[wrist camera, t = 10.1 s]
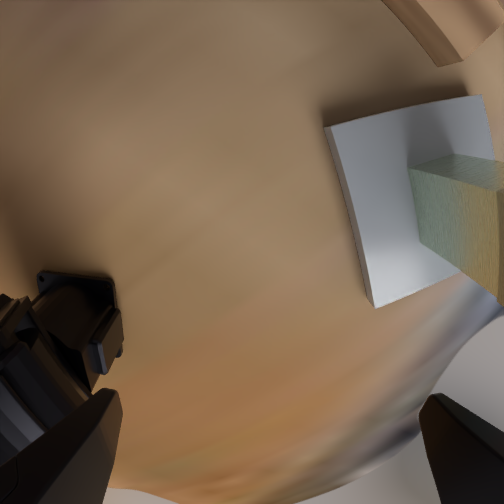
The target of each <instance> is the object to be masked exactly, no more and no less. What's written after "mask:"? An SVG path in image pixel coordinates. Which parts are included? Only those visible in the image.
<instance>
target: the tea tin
mask: <svg viewBox="0 0 504 504" xmlns="http://www.w3.org/2000/svg"><path fill="white" fill-rule="evenodd" d="M407 171H408V176H409V180H410V185H411V190H412V196H413V201H414V207H415V212H416V218H417V225H418V232H419V239H420V243H421V244H423V245H424V246H426V247H427V248H429V249H430V250H432V251H433V252H435V253H436V254H438V255H439V256H440V257H442V258H443V259H445V260H446V261H448V262H449V263H451V264H452V265H453V266H455V267H456V268H458V269H459V270H460V271H462V272H463V273H465V274H466V275H467V276H469V277H470V278H472V279H473V280H474V281H476V282H477V283H478V284H480V285H481V286H482V287H484V288H485V289H486V290H488V291H489V292H490V293H492V294H493V295H494V296H495V297H497V302H498V303H499V304H501V305H502V306H503V307H504V162H499V161H494V160H489V159H484V158H478V157H473V156H467V155H461V154H451V155H448V156H444V157H441V158H437V159H434V160H431V161H427V162H424V163H421V164H417V165H414V166H411V167H407Z"/></svg>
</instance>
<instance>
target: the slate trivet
mask: <svg viewBox="0 0 504 504" xmlns="http://www.w3.org/2000/svg"><path fill="white" fill-rule="evenodd" d="M324 131H325V134H326V137H327V140H328V144H329V147H330V150H331V153H332V157H333V160H334V163H335V167H336V170H337V173H338V177H339V180H340V184H341V188H342V191H343V195H344V198H345V202H346V206H347V210H348V214H349V218H350V222H351V226H352V230H353V234H354V238H355V242H356V247H357V251H358V256H359V260H360V265H361V269H362V274H363V279H364V284H365V289H366V294H367V299H368V300H369V302H370V303H371V304H372V306H373V307H374V308H375V309H376V308H379V307H381V306H384V305H386V304H389V303H391V302H394V301H396V300H398V299H401V298H403V297H405V296H408V295H410V294H412V293H415V292H417V291H419V290H422V289H424V288H426V287H428V286H431V285H433V284H435V283H437V282H439V281H441V280H444V279H446V278H448V277H450V276H452V275H454V274H456V273H458V272H460V270H459V269H458V268H456V267H455V266H453V265H452V264H451V263H449V262H448V261H446V260H445V259H443V258H442V257H440V256H439V255H438V254H436V253H435V252H433V251H432V250H430V249H429V248H427V247H426V246H424V245H423V244H421V243H420V239H419V232H418V225H417V218H416V212H415V207H414V201H413V196H412V190H411V185H410V180H409V176H408V171H407V167H411V166H414V165H417V164H421V163H424V162H427V161H431V160H434V159H437V158H441V157H444V156H448V155H451V154H461V155H467V156H473V157H478V158H484V159H489V160H494V161H495V157H494V151H493V145H492V139H491V134H490V129H489V124H488V119H487V115H486V110H485V106H484V102H483V98H482V94H480V95H468V96H462V97H455V98H450V99H444V100H438V101H433V102H428V103H423V104H418V105H413V106H408V107H404V108H399V109H394V110H390V111H386V112H381V113H377V114H373V115H369V116H365V117H361V118H357V119H353V120H349V121H346V122H342V123H338V124H335V125H331V126H327V127H324Z"/></svg>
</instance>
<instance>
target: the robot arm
mask: <svg viewBox="0 0 504 504" xmlns="http://www.w3.org/2000/svg"><path fill="white" fill-rule="evenodd" d="M42 276H43V277H44V279H43V278H42ZM37 283H38V289H39V295H38V296H37V297H36V298H35V299H34V300H33V301H32V302H31V301H30V299H29V297H28V296H25V297H23V298H21V299H15V300H14V299H13V298H12V299H11V298H10V297H8V296H6V295H5V294H1V295H0V504H102V503H103V499H104V496H105V492H106V489H107V486H108V482H109V479H110V475H111V472H112V469H113V465H114V460H115V455H116V449H117V443H118V438H119V432H120V427H121V422H122V416H123V411H122V406H121V402H120V398H119V394H118V392H117V391H116V390H113V389H108V388H102V389H100V390H99V391H98V392H96V393H95V394H94V395H92V393H91V392H92V390H93V388H94V386H95V384H96V382H97V380H98V378H99V376H100V374H102V375H106V374H107V373H108V371H109V369H110V367H111V365H112V363H113V361H114V359H115V358H119V357H120V356H121V355H122V352H123V349H122V342H123V340H124V336H123V328H122V319H121V311H120V310H119V309H118V308H117V301H116V291H115V284H114V282H113V281H112V280H111V279H109V278H101V277H92V276H84V275H76V274H67V273H60V272H52V271H44V270H42V271H40V272H39V273H38V274H37ZM105 284H107V285H109V287H110V288H107V287H106V286H105ZM419 422H420V427H421V431H422V435H423V439H424V444H425V449H426V453H427V458H428V461H429V464H430V467H431V471H432V474H433V477H434V480H435V484H436V487H437V490H438V494H439V497H440V501H441V504H504V432H503V431H501V430H499V429H498V428H496V427H495V426H493V425H491V424H490V423H488V422H487V421H485V420H483V419H481V418H480V417H479V416H477V415H476V414H474V413H472V412H470V411H469V410H468V409H466V408H465V407H463V406H461V405H459V404H458V403H457V402H455V401H454V400H452V399H450V398H449V397H447V396H446V395H444V394H442V393H436V394H431V395H430V396H429V397H428V398H427V400H426V402H425V403H424V405H423V407H422V409H421V410H420V412H419Z"/></svg>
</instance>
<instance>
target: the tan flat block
mask: <svg viewBox="0 0 504 504" xmlns="http://www.w3.org/2000/svg"><path fill="white" fill-rule="evenodd" d="M382 1H383V2H384V3H385V4H386V5H387V6H388V7H389V8H390V10H391V11H392V12H393V13H394V14H395V15H396V16H397V17H398V18H399V19H400V21H401V22H402V23H403V24H404V25H405V26H406V27H407V29H408V30H409V31H410V32H411V33H412V34H413V36H414V37H415V38H416V39H417V41H418V42H419V43H420V44H421V46H422V47H423V48H424V49H425V51H426V52H427V53H428V55H429V56H430V57H431V58H432V60H433V61H434V63H435V64H436V65H437V67H441V66H445V65H449V64H453V63H457V62H461V61H464V60H465V59H466V58H467V57H468V56H469V55H470V54H471V53H472V52H473V51H474V50H475V49H476V48H478V47H479V46H480V45H481V44H482V43H483V42H484V41H485V40H486V39H487V38H488V37H489V36H490V35H491V34H492V33H493V32H494V31H495V30H496V29H497V28H498V27H499V26H500V25H502V24H503V23H504V10H503V9H502V7H501V6H500V4H499V3H498V2H497V0H382Z"/></svg>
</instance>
